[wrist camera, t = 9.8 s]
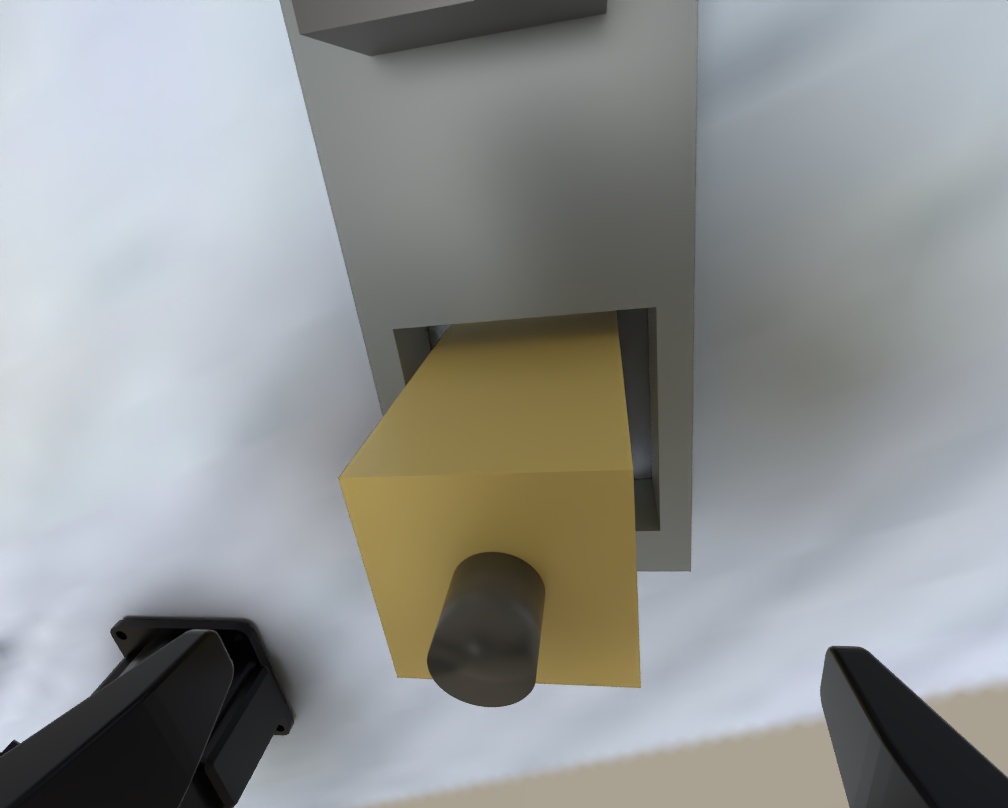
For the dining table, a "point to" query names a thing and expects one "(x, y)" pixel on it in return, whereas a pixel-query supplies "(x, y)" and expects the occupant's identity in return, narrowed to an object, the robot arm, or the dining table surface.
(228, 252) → the dining table surface
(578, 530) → the plug
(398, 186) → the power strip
